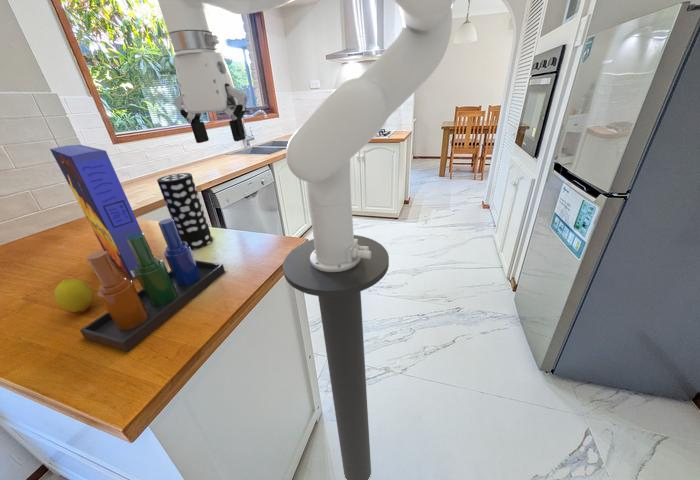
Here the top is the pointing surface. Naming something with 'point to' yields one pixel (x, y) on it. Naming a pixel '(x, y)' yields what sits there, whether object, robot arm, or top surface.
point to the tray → (150, 312)
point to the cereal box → (101, 200)
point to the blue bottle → (179, 255)
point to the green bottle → (151, 272)
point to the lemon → (73, 295)
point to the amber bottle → (117, 293)
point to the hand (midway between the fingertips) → (221, 141)
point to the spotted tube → (185, 209)
